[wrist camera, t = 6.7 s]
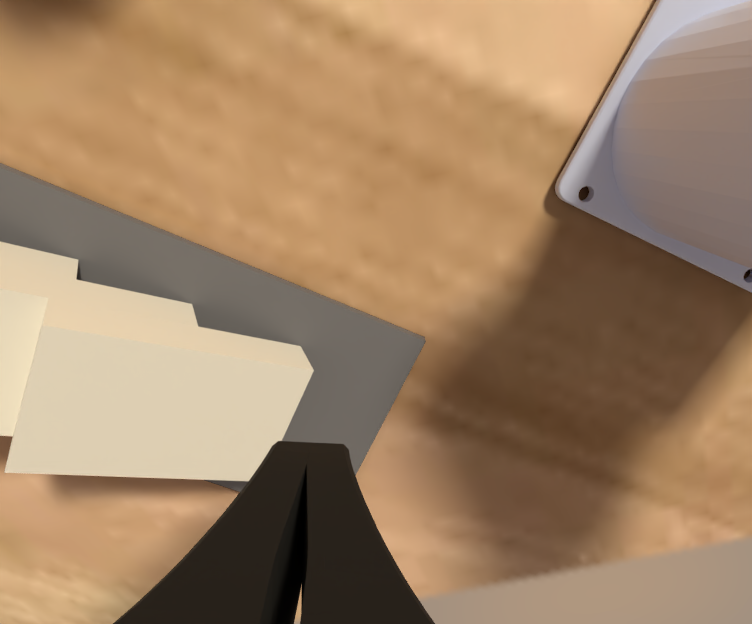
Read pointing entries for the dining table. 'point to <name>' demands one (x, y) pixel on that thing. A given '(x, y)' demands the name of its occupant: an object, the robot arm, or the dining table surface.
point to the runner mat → (227, 306)
